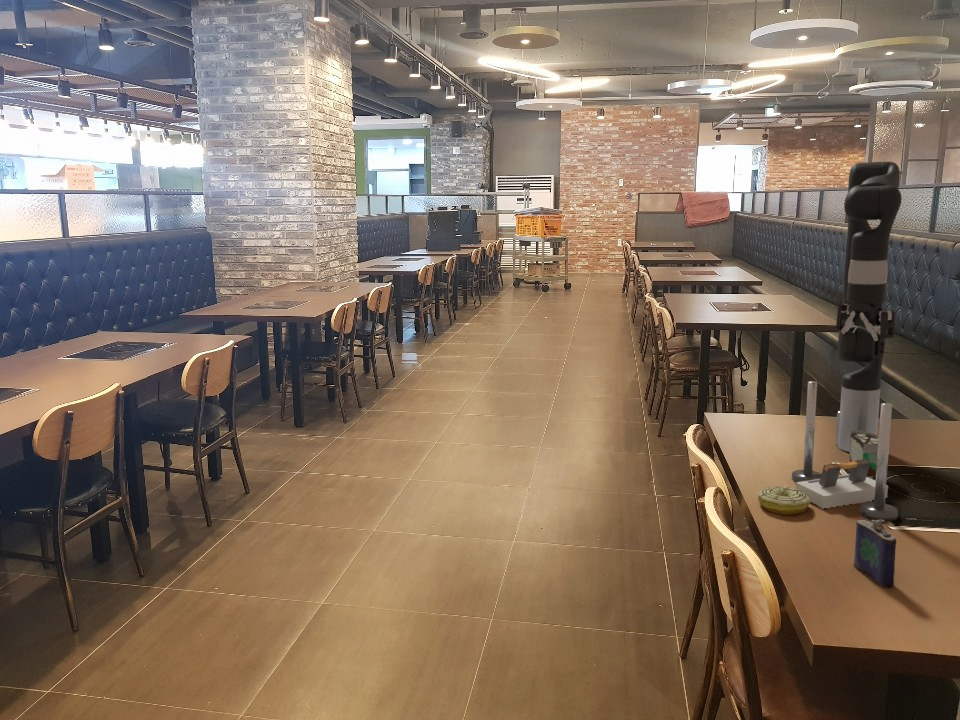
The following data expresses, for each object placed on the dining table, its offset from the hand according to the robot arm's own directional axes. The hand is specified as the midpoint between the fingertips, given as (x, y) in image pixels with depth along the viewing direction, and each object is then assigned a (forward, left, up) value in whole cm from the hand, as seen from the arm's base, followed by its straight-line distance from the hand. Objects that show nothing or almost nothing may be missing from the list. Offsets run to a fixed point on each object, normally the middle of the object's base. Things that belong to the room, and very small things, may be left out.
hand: (862, 353), depth 163 cm
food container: (-7, +11, -33) cm, 36 cm away
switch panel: (+1, -4, -33) cm, 33 cm away
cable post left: (-10, -4, -33) cm, 35 cm away
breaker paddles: (+1, -4, -30) cm, 30 cm away
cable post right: (+12, -4, -33) cm, 35 cm away
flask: (+33, -25, -33) cm, 53 cm away
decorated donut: (+1, -20, -33) cm, 38 cm away
